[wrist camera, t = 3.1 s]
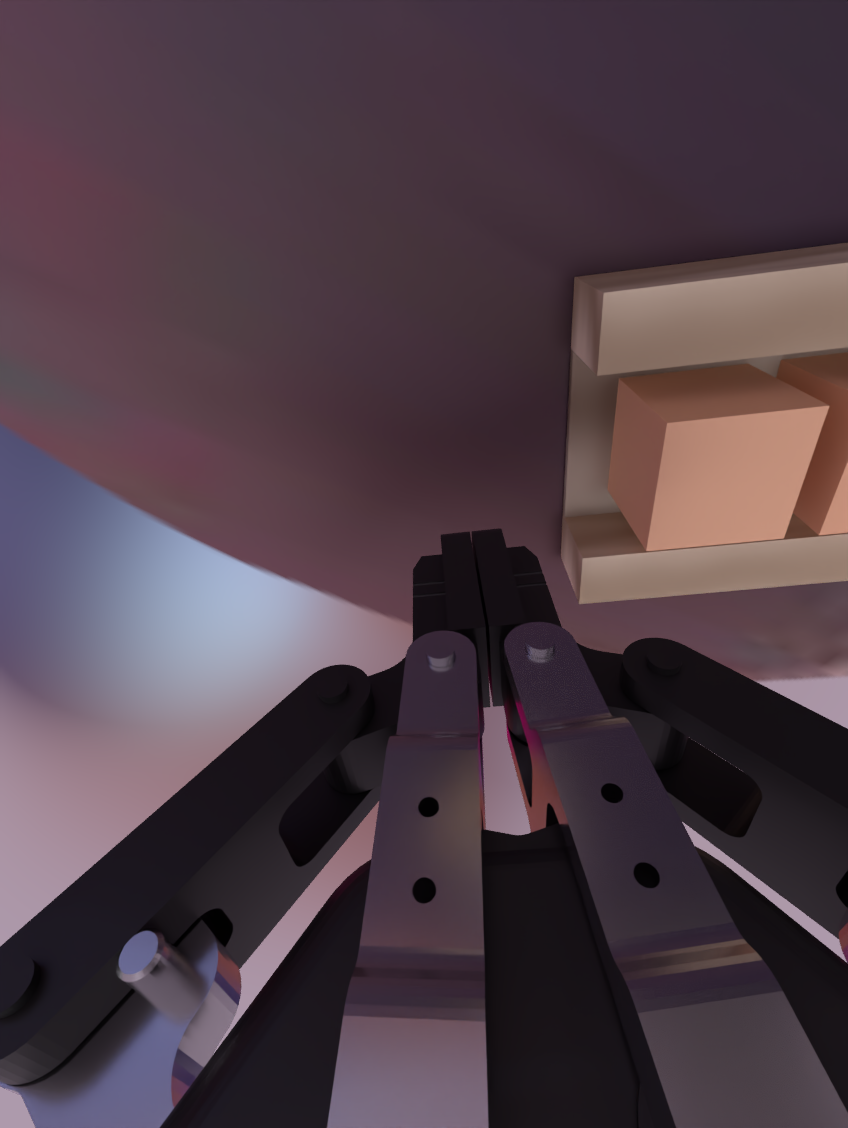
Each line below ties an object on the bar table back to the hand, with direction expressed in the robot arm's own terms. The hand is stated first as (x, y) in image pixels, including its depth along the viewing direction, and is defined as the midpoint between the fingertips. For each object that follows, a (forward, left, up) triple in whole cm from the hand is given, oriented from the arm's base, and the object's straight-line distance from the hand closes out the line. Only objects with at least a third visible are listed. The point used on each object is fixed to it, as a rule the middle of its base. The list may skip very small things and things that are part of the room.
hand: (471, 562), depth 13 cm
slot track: (0, +9, -7) cm, 11 cm away
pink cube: (0, +7, -6) cm, 10 cm away
